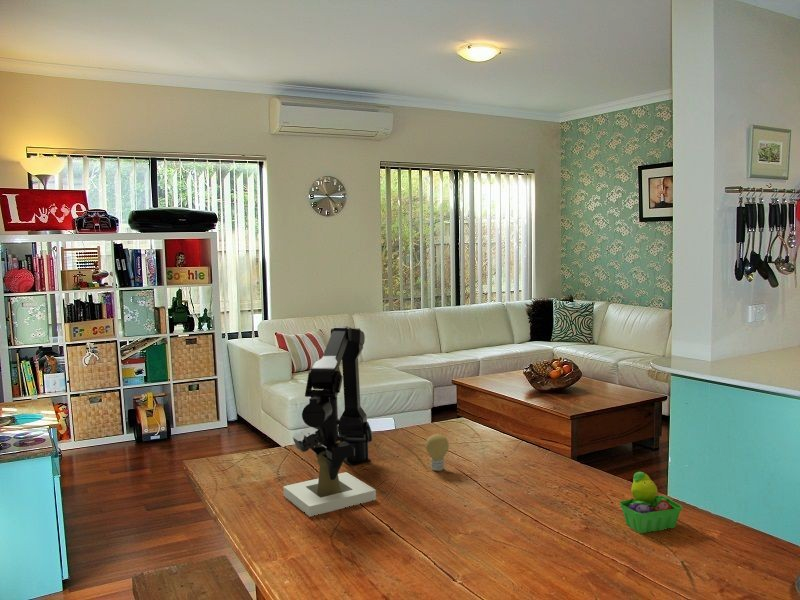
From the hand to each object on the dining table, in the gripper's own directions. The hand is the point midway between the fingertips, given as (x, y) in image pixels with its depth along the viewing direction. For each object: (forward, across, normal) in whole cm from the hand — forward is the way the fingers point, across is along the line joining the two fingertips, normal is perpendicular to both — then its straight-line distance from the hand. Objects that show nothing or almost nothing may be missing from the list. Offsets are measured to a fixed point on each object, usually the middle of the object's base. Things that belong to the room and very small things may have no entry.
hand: (328, 476), depth 170 cm
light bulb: (+6, -1, +34) cm, 34 cm away
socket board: (+5, 0, 0) cm, 5 cm away
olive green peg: (+5, 0, 0) cm, 5 cm away
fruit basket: (+6, +56, +51) cm, 76 cm away
